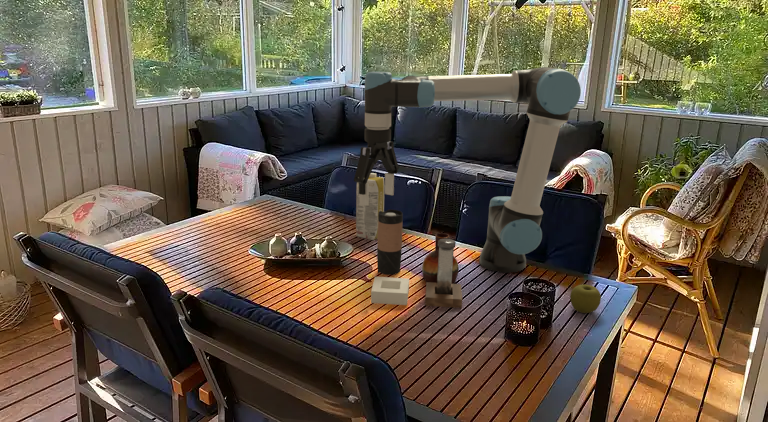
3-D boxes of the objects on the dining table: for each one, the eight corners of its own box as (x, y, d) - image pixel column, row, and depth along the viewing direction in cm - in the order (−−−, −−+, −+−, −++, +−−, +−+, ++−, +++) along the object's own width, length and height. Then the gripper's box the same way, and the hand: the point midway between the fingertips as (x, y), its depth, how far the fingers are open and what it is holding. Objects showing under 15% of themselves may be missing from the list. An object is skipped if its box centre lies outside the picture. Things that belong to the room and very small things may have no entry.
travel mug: (398, 279, 174) (400, 217, 168) (374, 276, 175) (375, 215, 169) (402, 269, 181) (404, 210, 175) (379, 267, 182) (380, 208, 176)
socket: (408, 292, 165) (409, 278, 163) (406, 308, 155) (407, 293, 154) (374, 290, 165) (375, 276, 164) (370, 306, 156) (371, 291, 154)
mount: (460, 295, 164) (460, 284, 163) (461, 311, 154) (462, 299, 153) (425, 293, 165) (426, 282, 164) (425, 308, 155) (425, 297, 154)
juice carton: (385, 236, 211) (387, 173, 204) (374, 242, 205) (375, 178, 197) (365, 231, 216) (366, 170, 209) (353, 236, 209) (353, 174, 202)
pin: (451, 295, 161) (455, 239, 156) (451, 302, 157) (455, 245, 152) (434, 294, 162) (438, 238, 157) (434, 301, 157) (438, 244, 152)
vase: (433, 293, 165) (436, 243, 160) (414, 279, 174) (416, 232, 170) (464, 286, 170) (468, 238, 165) (444, 273, 179) (447, 227, 174)
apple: (595, 320, 151) (599, 296, 149) (565, 312, 155) (568, 288, 153) (601, 309, 157) (605, 286, 155) (572, 302, 161) (575, 279, 159)
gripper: (389, 121, 171) (388, 188, 178) (340, 132, 151) (341, 207, 158) (411, 123, 168) (409, 192, 174) (363, 134, 147) (363, 211, 154)
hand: (377, 199), depth 166 cm, fingers open, 13 cm apart
